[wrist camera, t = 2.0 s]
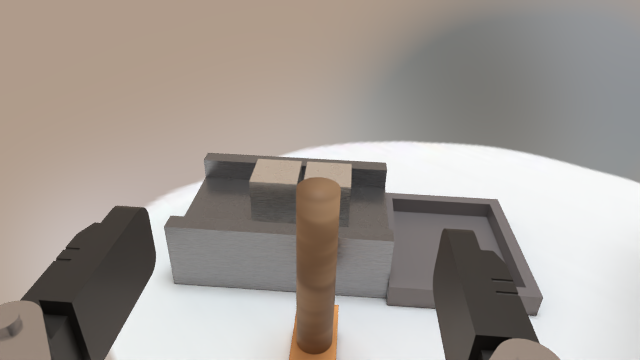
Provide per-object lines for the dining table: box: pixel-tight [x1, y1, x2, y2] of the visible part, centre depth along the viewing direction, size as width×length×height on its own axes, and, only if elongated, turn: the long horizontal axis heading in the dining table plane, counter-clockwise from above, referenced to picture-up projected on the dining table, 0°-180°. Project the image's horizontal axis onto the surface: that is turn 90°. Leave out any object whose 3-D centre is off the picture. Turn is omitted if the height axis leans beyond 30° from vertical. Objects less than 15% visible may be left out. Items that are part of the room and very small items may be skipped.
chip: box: [249, 159, 302, 223], centre depth 41 cm, size 4×4×4 cm
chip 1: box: [304, 162, 352, 226], centre depth 41 cm, size 4×4×4 cm
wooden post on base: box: [289, 177, 341, 360], centre depth 29 cm, size 3×6×15 cm, turn 176°
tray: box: [385, 193, 543, 315], centre depth 43 cm, size 12×14×2 cm
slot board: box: [164, 153, 394, 298], centre depth 43 cm, size 18×12×6 cm
